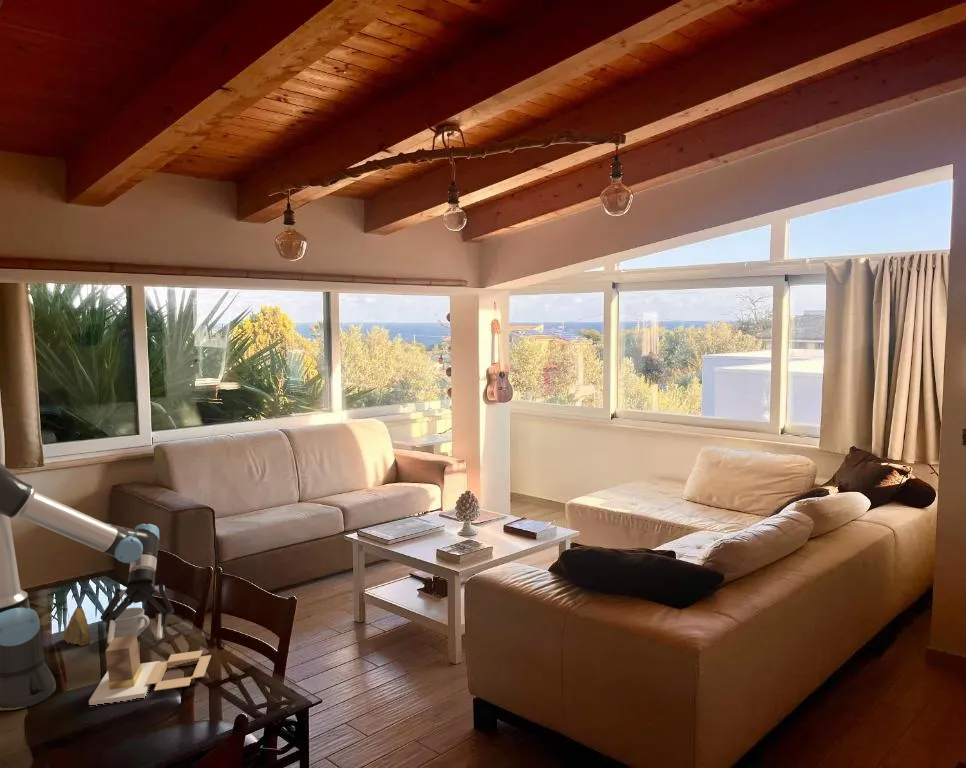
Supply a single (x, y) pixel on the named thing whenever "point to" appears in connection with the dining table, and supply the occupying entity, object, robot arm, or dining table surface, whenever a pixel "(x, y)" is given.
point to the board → (126, 693)
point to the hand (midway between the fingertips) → (134, 640)
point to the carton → (176, 660)
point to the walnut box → (123, 662)
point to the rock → (77, 629)
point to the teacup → (131, 622)
